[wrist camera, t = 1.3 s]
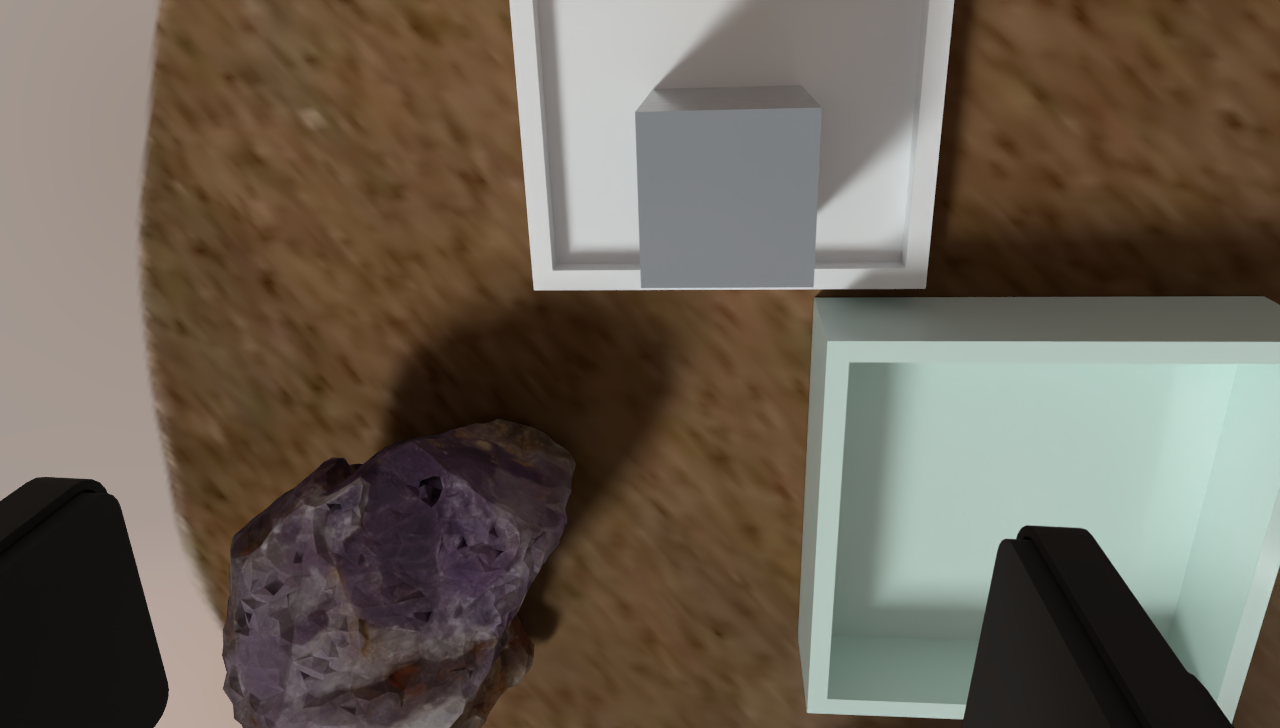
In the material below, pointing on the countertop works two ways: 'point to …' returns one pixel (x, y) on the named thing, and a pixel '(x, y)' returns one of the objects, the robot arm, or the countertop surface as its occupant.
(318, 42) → the countertop surface
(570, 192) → the tray
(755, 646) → the countertop surface
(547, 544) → the rock
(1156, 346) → the seafoam storage bin
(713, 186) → the matte grey cube
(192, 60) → the countertop surface
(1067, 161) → the countertop surface
